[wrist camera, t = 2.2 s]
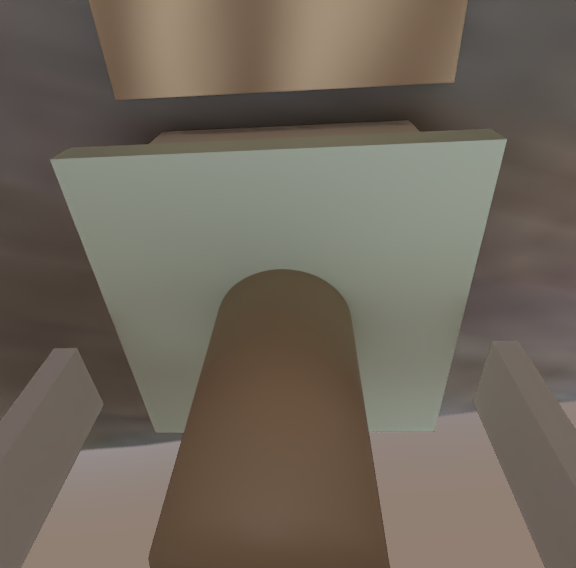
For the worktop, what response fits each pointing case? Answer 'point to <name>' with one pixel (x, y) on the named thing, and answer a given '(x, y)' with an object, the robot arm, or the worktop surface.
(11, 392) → the worktop surface
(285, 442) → the lid
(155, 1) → the mat
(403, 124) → the white open box
